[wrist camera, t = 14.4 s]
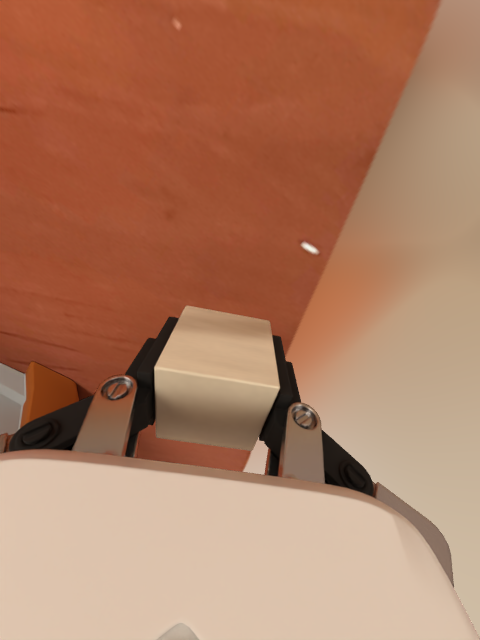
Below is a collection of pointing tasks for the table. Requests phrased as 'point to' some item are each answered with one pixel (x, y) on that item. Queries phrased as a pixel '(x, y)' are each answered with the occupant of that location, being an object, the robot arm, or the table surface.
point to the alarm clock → (32, 395)
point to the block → (215, 379)
